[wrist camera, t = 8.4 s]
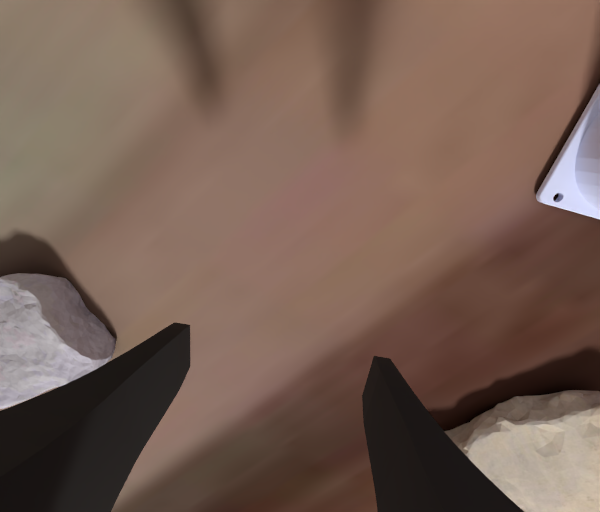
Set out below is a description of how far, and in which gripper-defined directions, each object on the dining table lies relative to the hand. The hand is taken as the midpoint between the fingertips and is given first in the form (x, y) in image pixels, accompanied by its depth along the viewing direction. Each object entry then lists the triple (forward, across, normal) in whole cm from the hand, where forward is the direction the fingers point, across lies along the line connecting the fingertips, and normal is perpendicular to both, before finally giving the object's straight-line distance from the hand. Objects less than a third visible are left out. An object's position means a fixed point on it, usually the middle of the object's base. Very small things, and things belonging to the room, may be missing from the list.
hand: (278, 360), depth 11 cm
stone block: (+10, +21, +9) cm, 25 cm away
